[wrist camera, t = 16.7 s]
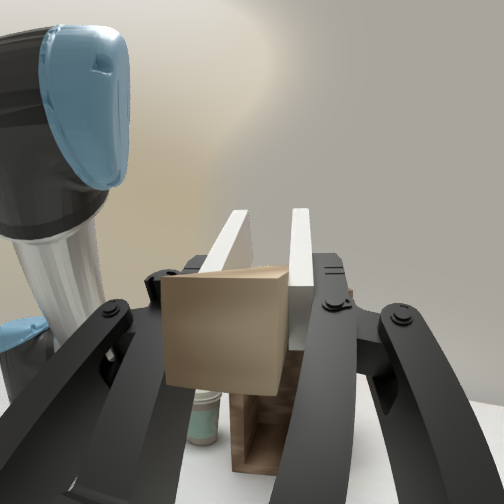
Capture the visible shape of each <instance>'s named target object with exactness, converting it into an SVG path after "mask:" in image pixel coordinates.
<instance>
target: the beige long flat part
mask: <svg viewBox="0 0 504 504" xmlns="http://www.w3.org/2000/svg"><path fill="white" fill-rule="evenodd" d="M288 282H289V265H270V266H261V267H251V268H242V269H233V270H223V271H213V272H203V273H193V274H183V275H173V276H163V277H161V312H162V333H163V349H164V363H165V375H166V385H171V386H177V387H184V388H191V389H198V390H206V391H215V392H224V393H235V394H247V395H263V396H277V392H278V388H279V383H280V379H281V374H282V369H283V365H284V360H285V355H286V350H287V345H288V340H289V300H288Z"/></svg>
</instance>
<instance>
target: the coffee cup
mask: <svg viewBox="0 0 504 504" xmlns="http://www.w3.org/2000/svg"><path fill="white" fill-rule="evenodd" d="M221 396H222V392H215V391H206V390H198V389H196V391H195V396H194V401H193V406H192V412H191V417H190V422H189V427H188V432H187V440H188V441H189V442H190V443H192V444H194V445H200V446H203V445H209V444H212V443H214V442H215V441H216V439H217V431H218V419H219V407H220V398H221Z"/></svg>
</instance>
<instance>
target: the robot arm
mask: <svg viewBox="0 0 504 504" xmlns="http://www.w3.org/2000/svg"><path fill="white" fill-rule="evenodd" d="M129 121H130V67H129V55H128V49H127V45H126V42H125V40H124V38H123V37H122V36H121V34H120V33H118V32H117V31H116V30H114V29H112V28H110V27H104V26H88V25H62V24H61V25H56V26H51V27H45V28H38V29H33V30H28V31H23V32H18V33H13V34H9V35H5V36H1V37H0V236H1V237H2V238H4V239H6V240H9V241H12V243H13V246H14V249H15V251H16V254H17V257H18V259H19V262H20V264H21V267H22V269H23V272H24V274H25V277H26V279H27V281H28V283H29V286H30V288H31V290H32V293H33V295H34V297H35V299H36V301H37V303H38V305H39V307H40V309H41V311H42V314H43V316H44V317H29V318H22V319H18V320H13V321H10V322H7V323H4V324H2V325H1V326H0V365H1V370H2V375H3V379H4V383H5V387H6V391H7V394H8V398H9V402H10V406H9V407H8V409H7V410H6V411H5V412H4V414H3V415H2V416H1V417H0V504H175V499H176V493H177V487H178V482H179V476H180V470H181V465H182V459H183V454H184V448H185V443H186V438H187V432H188V427H189V422H190V417H191V412H192V406H193V401H194V396H195V391H196V389H191V388H184V387H177V386H171V385H166V375H165V363H164V349H163V333H162V312H161V277H163V276H173V275H183V274H193V273H203V272H213V271H223V270H233V269H242V268H250V267H251V264H252V260H253V252H252V242H251V232H250V222H249V212H248V210H234V211H233V212H232V214H231V215H230V217H229V219H228V221H227V222H226V224H225V226H224V228H223V229H222V231H221V233H220V235H219V237H218V238H217V240H216V242H215V244H214V245H213V247H212V249H211V251H210V252H209V254H208V255H196V256H195V257H194V258H192V259H191V260H189V261H188V262H187V264H186V266H185V267H184V269H183V270H182V272H179V271H177V270H171V269H167V270H161V271H158V272H155V273H153V274H151V275H150V276H148V277H147V278H146V279H145V280H144V282H145V285H146V288H147V291H148V295H149V298H150V301H151V302H150V304H149V306H148V307H145V308H138V309H132V310H131V309H130V307H129V304H128V303H127V301H125V300H122V299H113V300H109V301H108V302H105V297H104V291H103V285H102V279H101V272H100V265H99V258H98V249H97V241H96V231H95V219H94V217H95V216H96V214H97V213H98V212H99V211H100V210H101V209H102V207H103V206H104V204H105V202H106V200H107V198H108V195H109V189H110V188H112V187H116V186H118V185H120V184H121V183H122V182H123V180H124V178H125V175H126V170H127V162H128V151H129ZM288 300H289V350H305V351H304V356H303V362H302V367H301V372H300V377H299V382H298V387H297V392H296V397H295V402H294V406H293V411H292V416H291V420H290V424H289V429H288V433H287V437H286V441H285V446H284V450H283V454H282V458H281V462H280V465H279V469H278V473H277V477H276V480H275V484H274V488H273V491H272V495H271V498H270V502H269V504H345V502H346V495H347V488H348V481H349V473H350V465H351V455H352V445H353V433H354V419H355V401H356V373H359V374H364V375H366V378H367V381H368V385H369V388H370V391H371V395H372V398H373V401H374V405H375V408H376V412H377V415H378V419H379V422H380V426H381V430H382V433H383V437H384V441H385V445H386V449H387V453H388V457H389V461H390V465H391V469H392V474H393V478H394V482H395V487H396V492H397V496H398V501H399V504H504V489H503V485H502V482H501V479H500V476H499V473H498V470H497V468H496V465H495V462H494V459H493V457H492V454H491V451H490V449H489V446H488V444H487V441H486V439H485V437H484V434H483V432H482V429H481V427H480V425H479V423H478V420H477V418H476V416H475V414H474V411H473V409H472V407H471V405H470V403H469V401H468V399H467V397H466V395H465V393H464V391H463V389H462V387H461V385H460V383H459V381H458V379H457V377H456V375H455V373H454V371H453V369H452V367H451V365H450V364H449V362H448V360H447V358H446V356H445V355H444V353H443V351H442V349H441V347H440V346H439V344H438V342H437V341H436V339H435V337H434V336H433V334H432V332H431V330H430V329H429V327H428V325H427V324H426V322H425V320H424V319H423V317H422V316H421V314H420V313H419V312H418V311H417V309H415V308H413V307H412V306H410V305H407V304H402V303H394V304H390V305H387V306H386V307H384V308H383V309H382V311H381V314H379V313H375V312H370V311H366V310H363V309H361V308H359V307H358V306H356V305H355V302H354V300H353V299H352V298H351V297H350V296H349V291H348V286H347V282H346V277H345V272H344V268H343V263H342V260H341V258H339V256H338V255H337V254H335V253H312V248H311V235H310V223H309V209H308V208H298V209H293V218H292V233H291V248H290V262H289V282H288ZM77 475H78V476H77ZM76 477H77V479H76V482H75V485H74V487H73V488H72V489H71V490H70V491H68V489H69V488H70V486H71V485H72V483H73V481H74V480H75V478H76ZM67 491H68V492H67Z"/></svg>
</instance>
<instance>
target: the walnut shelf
mask: <svg viewBox="0 0 504 504" xmlns="http://www.w3.org/2000/svg"><path fill="white" fill-rule="evenodd" d="M348 291H349V296H350V297H351V298H352V299H353V290H351V289H349V288H348ZM304 351H305V350H289V340H288V345H287V350H286V355H285V360H284V365H283V369H282V374H281V379H280V383H279V388H278V392H277V396H263V395H247V394H235V393H229V406H230V434H231V457H232V471H233V472H241V473H251V474H262V475H276V476H277V473H278V469H279V465H280V462H281V458H282V454H283V450H284V446H285V441H286V437H287V433H288V429H289V424H290V420H291V416H292V411H293V406H294V402H295V397H296V392H297V387H298V382H299V377H300V372H301V367H302V362H303V356H304Z"/></svg>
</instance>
